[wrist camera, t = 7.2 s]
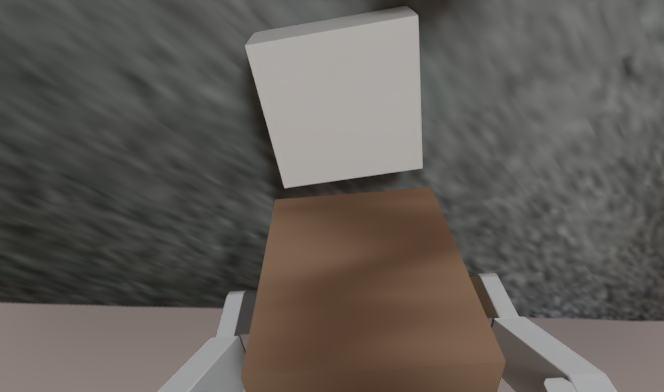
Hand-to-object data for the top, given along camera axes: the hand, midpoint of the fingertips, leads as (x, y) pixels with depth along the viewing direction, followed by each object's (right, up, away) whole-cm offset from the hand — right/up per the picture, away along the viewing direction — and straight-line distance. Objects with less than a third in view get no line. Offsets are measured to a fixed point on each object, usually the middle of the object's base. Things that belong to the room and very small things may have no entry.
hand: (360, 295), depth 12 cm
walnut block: (0, +1, +2) cm, 2 cm away
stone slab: (0, +11, +16) cm, 19 cm away
